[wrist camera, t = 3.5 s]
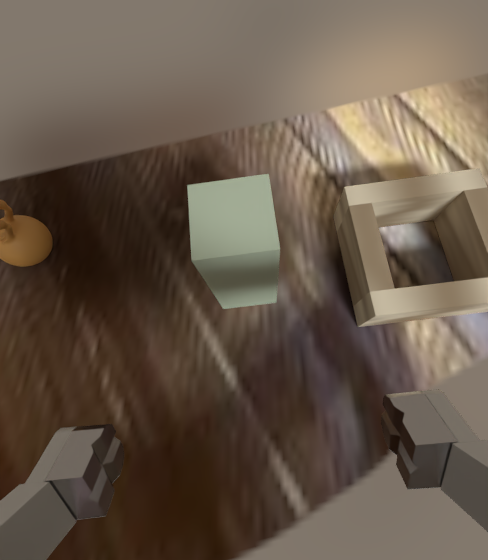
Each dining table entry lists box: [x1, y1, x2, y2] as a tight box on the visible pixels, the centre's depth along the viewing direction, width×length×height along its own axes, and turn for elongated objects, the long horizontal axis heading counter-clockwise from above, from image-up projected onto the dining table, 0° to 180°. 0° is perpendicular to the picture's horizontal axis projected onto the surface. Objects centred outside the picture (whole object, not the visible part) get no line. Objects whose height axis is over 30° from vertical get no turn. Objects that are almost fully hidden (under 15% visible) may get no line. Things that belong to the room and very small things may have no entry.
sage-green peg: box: [187, 174, 280, 309], centre depth 19 cm, size 4×4×10 cm
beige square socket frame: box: [333, 168, 488, 327], centre depth 22 cm, size 9×9×4 cm
